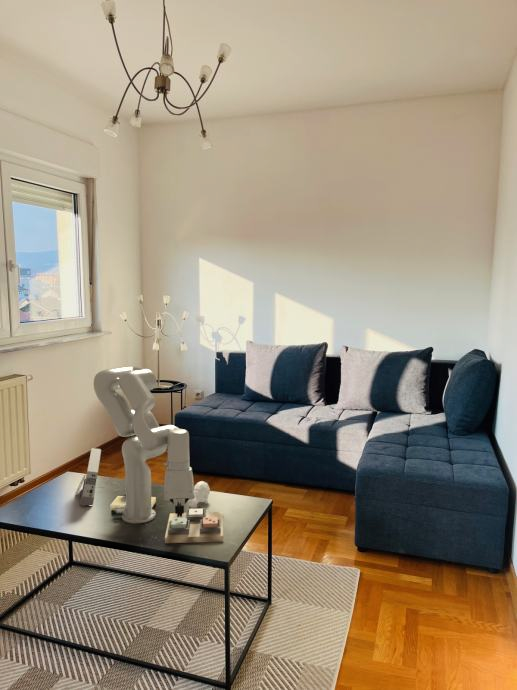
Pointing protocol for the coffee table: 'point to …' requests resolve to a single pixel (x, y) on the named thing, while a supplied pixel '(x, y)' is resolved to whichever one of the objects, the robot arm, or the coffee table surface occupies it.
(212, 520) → the tile terracotta
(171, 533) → the tile board
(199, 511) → the tile cream
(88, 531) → the coffee table surface
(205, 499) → the white statuette
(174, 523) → the tile sage
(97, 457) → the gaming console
